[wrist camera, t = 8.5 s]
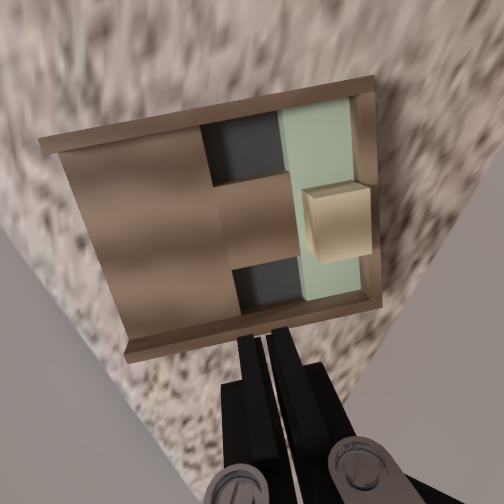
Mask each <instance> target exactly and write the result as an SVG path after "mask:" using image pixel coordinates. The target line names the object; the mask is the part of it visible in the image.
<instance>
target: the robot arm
mask: <svg viewBox="0 0 504 504" xmlns="http://www.w3.org/2000/svg"><path fill="white" fill-rule="evenodd" d="M266 341H267V346H268V351H269V356H270V361H271V366H272V371H273V377H274V382H275V387H276V392H277V397H278V402H279V406H280V410H281V414H282V418H283V422H284V427H285V431H286V435H287V439H288V443H289V447H290V451H291V455H292V459H293V463H294V467H295V471H296V475H297V479H298V483H299V487H300V491H301V495H302V499H303V503H304V504H464V503H462V502H460V501H458V500H456V499H454V498H452V497H450V496H448V495H446V494H444V493H442V492H440V491H438V490H436V489H434V488H432V487H430V486H428V485H426V484H424V483H422V482H420V481H418V480H416V479H414V478H412V477H410V476H408V475H406V474H404V473H403V472H402V470H401V469H400V468H399V466H398V465H397V463H396V462H395V461H394V459H393V458H392V456H391V455H390V454H389V453H388V452H387V451H386V450H385V448H384V447H383V446H382V445H380V444H379V443H377V442H375V441H374V440H371V439H369V438H365V437H360V436H356V434H355V432H354V430H353V427H352V425H351V423H350V421H349V419H348V417H347V415H346V413H345V410H344V408H343V406H342V404H341V402H340V400H339V398H338V395H337V393H336V391H335V389H334V387H333V385H332V383H331V380H330V378H329V376H328V374H327V372H326V370H325V368H324V366H323V364H322V363H321V362H317V363H313V364H308V365H304V366H303V365H302V363H301V360H300V358H299V355H298V352H297V350H296V347H295V344H294V342H293V339H292V337H291V334H290V331H289V329H288V327H287V326H285V327H281V328H276V329H272V330H271V334H270V335H266ZM237 343H238V351H239V358H240V366H241V374H242V380H238V381H234V382H230V383H225V384H221V409H222V433H223V456H224V469H223V470H221V471H220V472H219V473H218V474H217V475H216V476H215V477H214V478H213V479H212V481H211V482H210V484H209V486H208V487H207V490H206V494H205V497H204V503H203V504H298V503H297V498H296V493H295V488H294V482H293V477H292V472H291V467H290V462H289V457H288V452H287V447H286V442H285V438H284V433H283V429H282V425H281V421H280V416H279V412H278V408H277V404H276V400H275V395H274V391H273V387H272V383H271V379H270V374H269V370H268V366H267V362H266V358H265V354H264V349H263V345H262V341H261V337H257V338H254V336H253V334H249V335H245V336H240V337H237Z"/></svg>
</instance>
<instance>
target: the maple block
mask: <svg viewBox="0 0 504 504" xmlns="http://www.w3.org/2000/svg"><path fill="white" fill-rule="evenodd" d="M301 193H302V202H303V211H304V220H305V230H306V239H307V248H308V249H309V251H310V252H311V253H312V254H313V256H314V257H315V258H316V259H317V261H318V262H319V263H320V264H324V263H329V262H334V261H339V260H344V259H349V258H354V257H359V256H364V255H369V254H372V230H371V199H370V188H369V187H367V186H364V185H362V184H359V183H357V182H354V181H351V180H348V181H343V182H338V183H332V184H327V185H322V186H317V187H311V188H306V189H301Z"/></svg>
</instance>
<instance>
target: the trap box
mask: <svg viewBox="0 0 504 504" xmlns="http://www.w3.org/2000/svg"><path fill="white" fill-rule="evenodd" d="M38 140H39V143H40V145H41V148H42V150H43V153H44V155H45V154H51V153H56V152H58V155H59V158H60V160H61V163H62V165H63V168H64V171H65V173H66V176H67V178H68V181H69V184H70V186H71V189H72V192H73V194H74V197H75V199H76V202H77V205H78V207H79V210H80V213H81V215H82V218H83V220H84V223H85V226H86V228H87V231H88V233H89V236H90V239H91V241H92V244H93V247H94V249H95V252H96V254H97V257H98V260H99V262H100V265H101V268H102V270H103V273H104V275H105V278H106V281H107V283H108V286H109V288H110V291H111V294H112V296H113V299H114V302H115V304H116V307H117V309H118V312H119V315H120V317H121V320H122V323H123V325H124V328H125V330H126V333H127V336H128V338H129V342H128V344H127V347H126V350H125V352H124V357H125V359H126V362H127V364H131V363H136V362H140V361H145V360H149V359H154V358H158V357H163V356H167V355H172V354H176V353H181V352H185V351H190V350H194V349H199V348H203V347H208V346H212V345H217V344H221V343H226V342H230V341H235V340H237V337H240V336H245V335H249V334H253V336H257V335H262V334H266V333H271V330H272V329H276V328H281V327H285V326H287V327H288V329H289V328H293V327H298V326H302V325H307V324H311V323H316V322H320V321H325V320H329V319H334V318H338V317H343V316H347V315H352V314H356V313H361V312H365V311H370V310H374V309H379V308H383V307H382V278H381V249H380V220H379V191H378V163H377V134H376V105H375V76H374V75H371V76H366V77H360V78H355V79H350V80H345V81H339V82H334V83H329V84H323V85H318V86H313V87H307V88H302V89H297V90H292V91H286V92H281V93H276V94H270V95H265V96H260V97H254V98H249V99H244V100H239V101H233V102H228V103H223V104H217V105H212V106H207V107H201V108H196V109H191V110H185V111H180V112H175V113H170V114H164V115H159V116H154V117H148V118H143V119H138V120H132V121H127V122H122V123H117V124H111V125H106V126H101V127H95V128H90V129H85V130H79V131H74V132H69V133H64V134H58V135H53V136H48V137H42V138H38ZM348 180H351V181H354V182H357V183H359V184H362V185H364V186H367V187H369V188H370V199H371V230H372V254H369V255H364V256H359V257H354V258H349V259H344V260H339V261H334V262H329V263H324V264H320V263H319V262H318V261H317V259H316V258H315V257H314V256H313V254H312V253H311V252H310V251H309V249H308V248H307V239H306V230H305V220H304V211H303V202H302V193H301V189H306V188H311V187H317V186H322V185H327V184H332V183H338V182H343V181H348Z"/></svg>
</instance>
